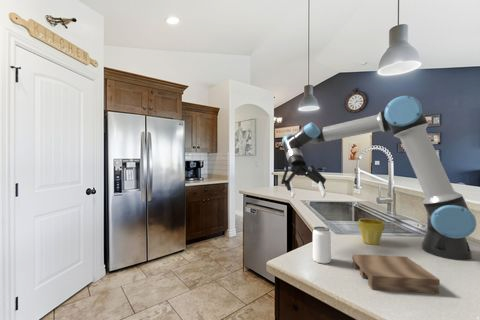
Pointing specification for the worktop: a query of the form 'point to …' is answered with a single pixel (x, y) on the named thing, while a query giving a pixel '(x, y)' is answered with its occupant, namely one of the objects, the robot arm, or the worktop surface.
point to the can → (321, 245)
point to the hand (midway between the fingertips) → (309, 195)
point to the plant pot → (371, 230)
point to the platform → (395, 273)
